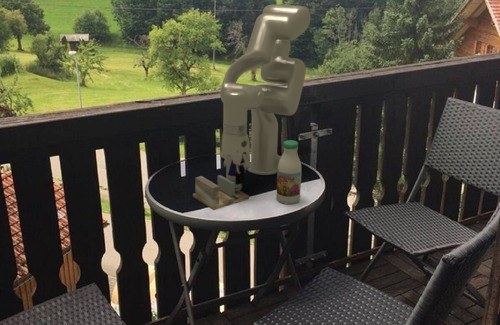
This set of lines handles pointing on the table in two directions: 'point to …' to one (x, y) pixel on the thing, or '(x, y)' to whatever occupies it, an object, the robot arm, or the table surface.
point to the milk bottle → (289, 174)
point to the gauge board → (222, 198)
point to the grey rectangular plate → (226, 186)
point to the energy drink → (232, 172)
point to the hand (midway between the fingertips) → (234, 180)
